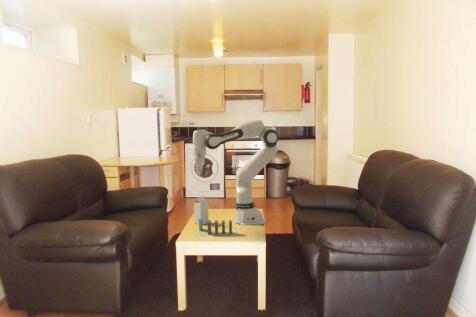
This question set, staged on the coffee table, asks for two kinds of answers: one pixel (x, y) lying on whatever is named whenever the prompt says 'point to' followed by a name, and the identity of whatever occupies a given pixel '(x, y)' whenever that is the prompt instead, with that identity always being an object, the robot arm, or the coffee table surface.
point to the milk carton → (201, 210)
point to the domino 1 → (200, 224)
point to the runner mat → (214, 233)
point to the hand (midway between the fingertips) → (200, 172)
